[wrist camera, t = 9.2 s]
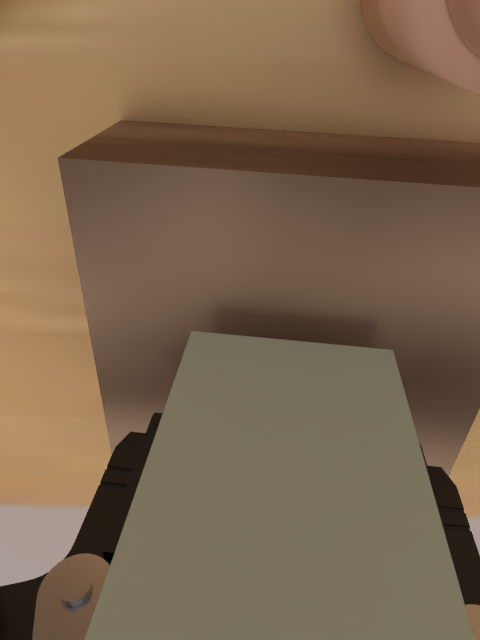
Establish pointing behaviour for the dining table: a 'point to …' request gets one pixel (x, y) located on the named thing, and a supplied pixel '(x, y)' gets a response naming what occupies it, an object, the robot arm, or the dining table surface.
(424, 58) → the terracotta shaker
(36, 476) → the dining table surface
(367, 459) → the green block
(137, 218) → the walnut block
